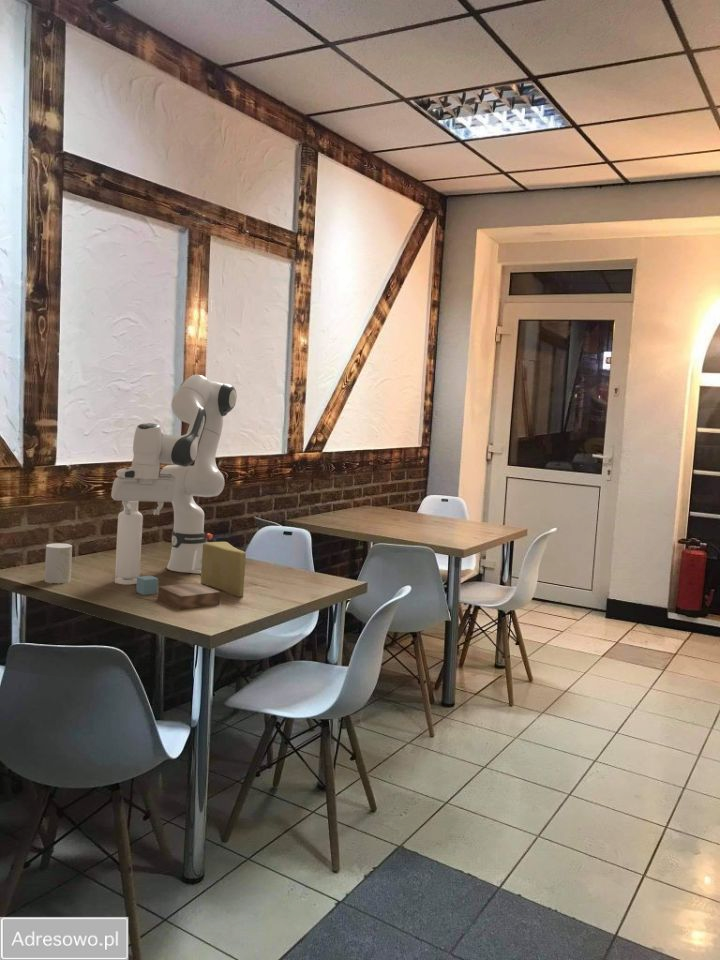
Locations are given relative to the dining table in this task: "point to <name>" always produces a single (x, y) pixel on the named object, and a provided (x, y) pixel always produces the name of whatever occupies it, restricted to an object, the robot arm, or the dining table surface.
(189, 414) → the robot arm
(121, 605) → the dining table surface
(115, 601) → the dining table surface
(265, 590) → the dining table surface
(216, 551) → the cheese
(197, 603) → the riser
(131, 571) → the bottle
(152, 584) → the cube
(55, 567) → the cup
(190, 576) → the dining table surface
